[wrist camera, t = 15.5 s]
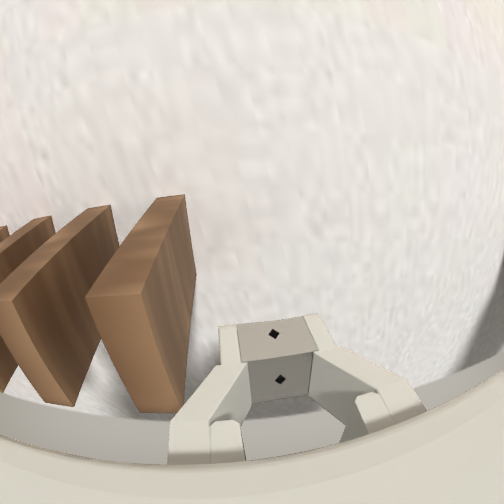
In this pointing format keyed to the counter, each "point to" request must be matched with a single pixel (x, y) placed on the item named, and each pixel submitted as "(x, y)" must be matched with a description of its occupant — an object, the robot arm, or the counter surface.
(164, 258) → the domino
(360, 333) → the counter surface
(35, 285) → the domino
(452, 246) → the counter surface
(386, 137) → the counter surface
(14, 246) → the domino
